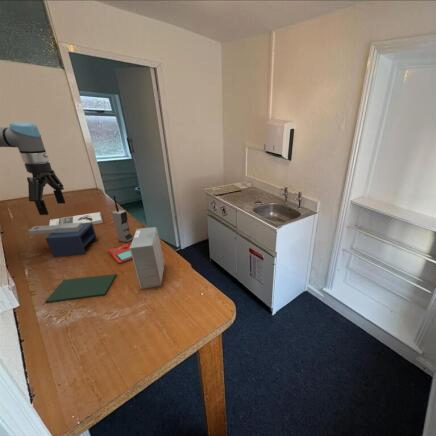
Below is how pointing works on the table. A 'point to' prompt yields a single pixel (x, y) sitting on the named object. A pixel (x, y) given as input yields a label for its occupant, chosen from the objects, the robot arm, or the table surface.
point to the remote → (56, 228)
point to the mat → (82, 288)
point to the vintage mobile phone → (121, 224)
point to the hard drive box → (147, 257)
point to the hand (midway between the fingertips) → (53, 208)
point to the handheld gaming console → (121, 253)
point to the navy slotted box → (71, 241)
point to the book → (79, 219)
